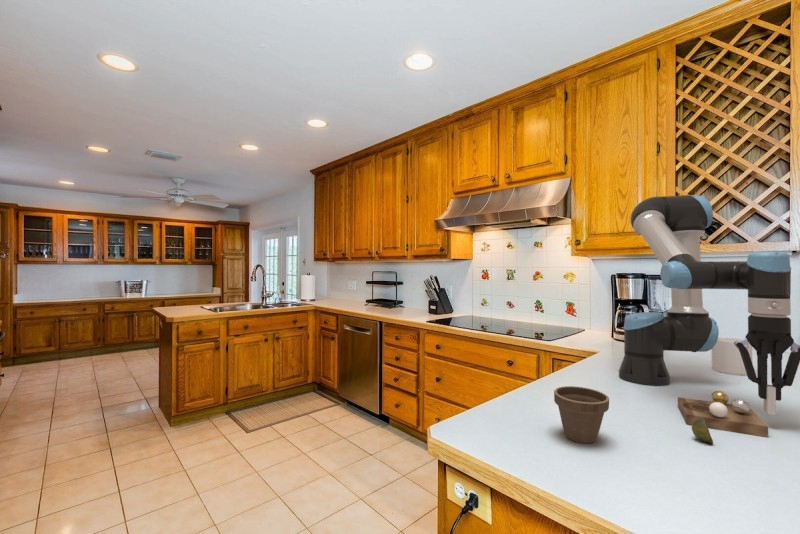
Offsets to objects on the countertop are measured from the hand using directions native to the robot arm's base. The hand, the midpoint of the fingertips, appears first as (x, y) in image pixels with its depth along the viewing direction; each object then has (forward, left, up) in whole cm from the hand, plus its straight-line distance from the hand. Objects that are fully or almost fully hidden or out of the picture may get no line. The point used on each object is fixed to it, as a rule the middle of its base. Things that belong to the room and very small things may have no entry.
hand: (769, 412), depth 93 cm
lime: (-15, -17, -4) cm, 24 cm away
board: (-10, 0, -4) cm, 10 cm away
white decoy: (-11, -6, +1) cm, 12 cm away
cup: (+6, +64, -4) cm, 64 cm away
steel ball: (-5, 0, +1) cm, 5 cm away
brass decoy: (-8, +6, +1) cm, 10 cm away
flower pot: (-39, -29, -4) cm, 49 cm away
